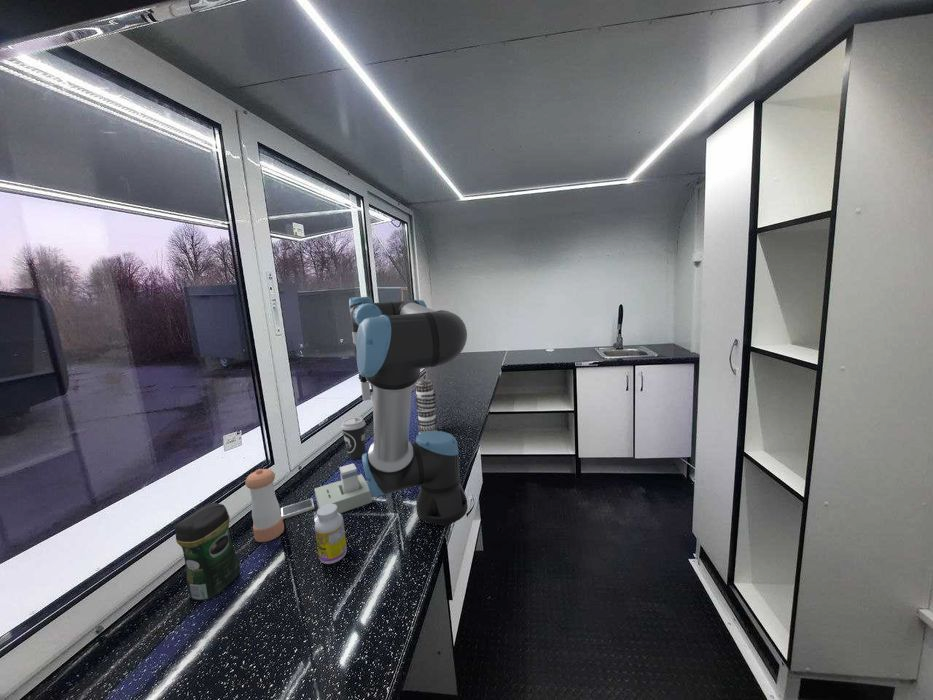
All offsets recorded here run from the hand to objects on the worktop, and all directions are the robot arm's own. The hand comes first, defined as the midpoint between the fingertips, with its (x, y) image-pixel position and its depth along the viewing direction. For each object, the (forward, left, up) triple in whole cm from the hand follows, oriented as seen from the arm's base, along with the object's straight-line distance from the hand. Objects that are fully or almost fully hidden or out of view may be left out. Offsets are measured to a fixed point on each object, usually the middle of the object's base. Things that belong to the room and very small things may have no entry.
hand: (372, 404), depth 120 cm
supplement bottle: (-31, +21, -27) cm, 46 cm away
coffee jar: (-25, +46, -27) cm, 59 cm away
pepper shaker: (-12, +35, -27) cm, 46 cm away
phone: (-5, +27, -27) cm, 38 cm away
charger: (-8, +12, -26) cm, 30 cm away
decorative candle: (+25, -30, -27) cm, 47 cm away
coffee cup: (+22, +3, -27) cm, 35 cm away
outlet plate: (-8, +14, -27) cm, 31 cm away
